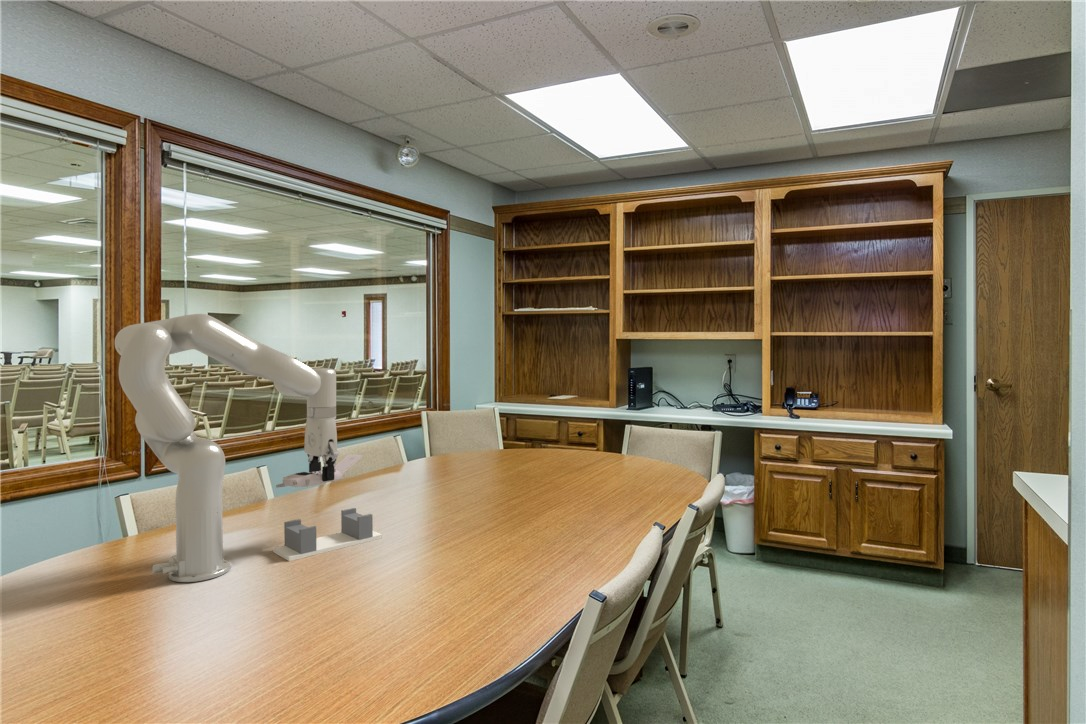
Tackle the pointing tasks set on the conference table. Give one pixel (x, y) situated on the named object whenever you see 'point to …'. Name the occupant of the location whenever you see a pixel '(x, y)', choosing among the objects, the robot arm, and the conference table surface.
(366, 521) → the cradle stand
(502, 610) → the conference table surface
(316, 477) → the mobile phone
